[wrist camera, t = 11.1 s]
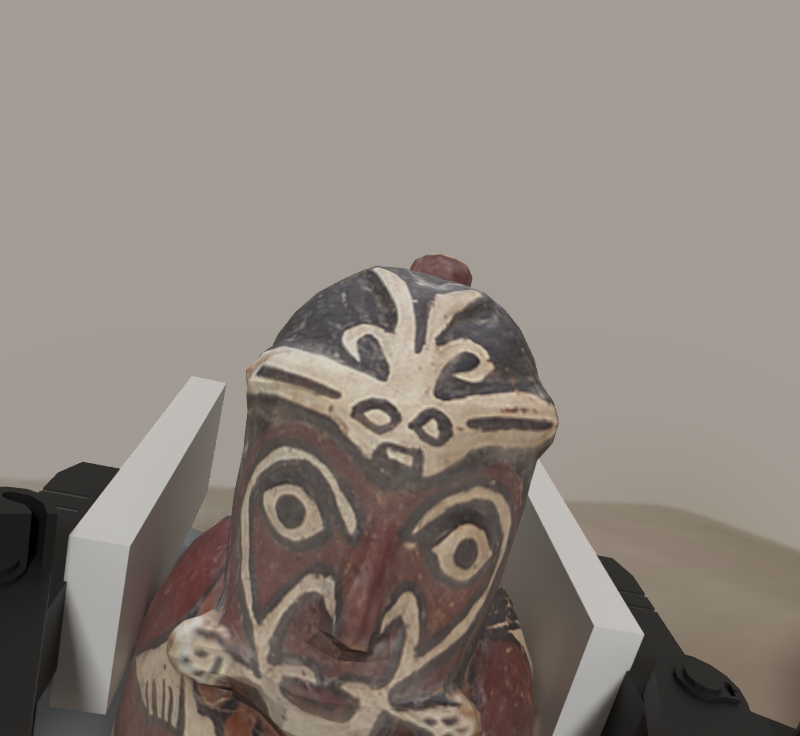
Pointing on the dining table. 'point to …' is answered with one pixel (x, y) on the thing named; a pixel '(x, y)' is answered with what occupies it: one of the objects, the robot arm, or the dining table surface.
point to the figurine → (361, 530)
